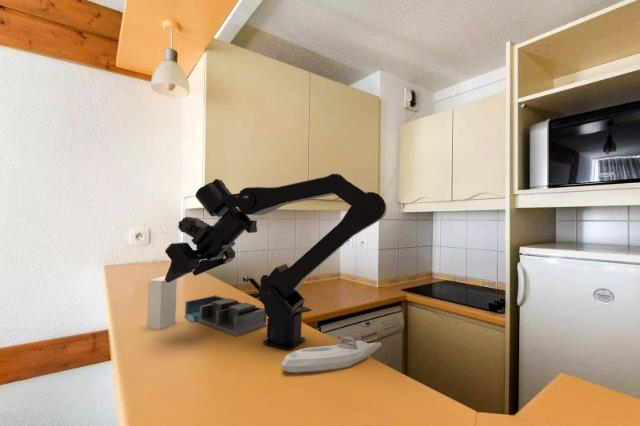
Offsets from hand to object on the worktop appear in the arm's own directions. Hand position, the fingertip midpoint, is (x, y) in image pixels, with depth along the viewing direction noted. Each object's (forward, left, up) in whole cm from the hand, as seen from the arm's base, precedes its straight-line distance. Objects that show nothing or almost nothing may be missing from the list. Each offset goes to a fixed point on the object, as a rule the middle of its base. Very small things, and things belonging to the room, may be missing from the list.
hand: (180, 277), depth 73 cm
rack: (-5, -9, -12) cm, 15 cm away
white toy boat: (-37, -5, -12) cm, 40 cm away
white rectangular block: (+5, +1, -12) cm, 13 cm away
